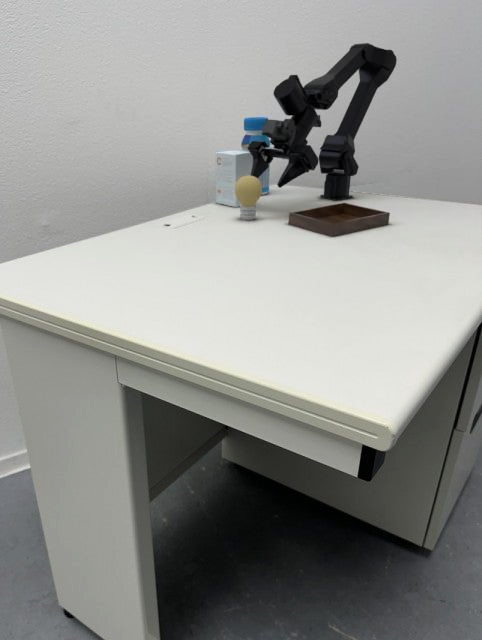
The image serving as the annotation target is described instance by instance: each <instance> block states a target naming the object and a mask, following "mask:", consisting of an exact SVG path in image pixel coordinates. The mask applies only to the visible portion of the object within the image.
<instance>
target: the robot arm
mask: <svg viewBox="0 0 482 640" xmlns="http://www.w3.org/2000/svg"><path fill="white" fill-rule="evenodd" d="M396 65H397V56H396V54H395V51H393V50H392V49H384V48H381V47H379V46H375V45H374V44H371V43H369V42H363V43H354V44H353V45H351V46H350V47H349V50H348V51H347V52H346V53H345V54H344V55H343V56H342V57H341V58H340V59H339V60H338V61H337V62H336V63H335V64H334V65H333V66H332V67H331V68H330V69H329V70H328V71H327V72H326V73H325V74H323V75H321V76H319V77H316V78H314V79H312V80H311V81H309V82H308V83H306V84H305V85H304V86H303V84H302V83H301V79H300V77H299V76H298V74H290V75H289V76H288V78H286V79H285V80H283V81H281V82H280V83H279V84H277V85H276V86H275V87H274V89H273V96H274V99H275V100H276V102H277V103H278V105H279V106H280V108H281V110H282V111H283V113H284V114H285V115H286V116H287V117H288V116H291V117H290V118H284V120H278V119H268V120H265V123H264V126H263V130H262V133H261V134H262V135H266V136H267V137H268V138H269V140H270V145H272V146H273V147H269V146H268V145H267V144H266V142H265V141H251V143H250V145H249V146H248V150H249V151H250V154H251V155H252V156H253V166H252V171H251V175H250V176H254V177H256V178H257V179H258V178H259V177H260V176H261V175H262V174H263V172H264V171H265V170H266V169H267V168H268V167H269V165H268V164H269V163H270V164H271V163H272V162H273V160H274V158H276V159H282V160H286V161H287V160H288V163H287V165H286V167H285V168H284V171H283V172H282V174H281V175H280V177H279V179H278V182H277V185H276V186H277V187H278V188H283V187H284V186H285V185H287V184H289V183H290V182H292V181H294V180H295V179H296V178H298V177H300V176H302V175H305V174H306V173H309V172H310V171H315V169H316V168H317V166H318V165H319V170H320V174H323V175H325V180H324V184H323V186H324V187H323V194H320V198H323V199H328V200H332V201H340V200H341V201H342V200H346V199H347V200H348V199H352V198H354V195H352V194H350V188H351V180H352V179H351V178H352V177H354V176H356V175H357V174H358V172H359V165H358V162H357V160H356V158H355V157H354V155H355V153H356V146H355V138H356V137H357V134H358V133H359V131H360V128H361V125H362V124H363V121H364V119H365V116H366V114H367V113H368V111H369V108H370V106H371V103H372V102H373V99H374V97H375V94H376V93H377V91H378V89H379V88H380V87H382V85H383V84H385V83H386V82H387V81H388V80H389V78H390V77H391V75H392V73H393V72H394V70H395V68H396ZM357 72H358V77H359V82H358V84H357V86H356V89H355V90H354V93H353V95H352V97H351V100H350V102H349V103H348V107H347V108H346V111H345V113H344V114H343V117H342V119H341V122H340V124H339V126H338V128H337V131H336V132H335V133H334V134H327V135H326V136H325V137H324V140H323V143H322V145H321V146H320V148H319V150H320V151H319V154H317V153H316V152H315V150H314V149H313V147H312V146H311V144H309V143H308V142H309V141H308V140H307V138H308V137H309V135H310V133H311V132H312V130H313V128H322V121H321V114H318V113H317V111H316V110H318V111H327V110H329V109H330V108H331V107H332V106H333V104H334V103H335V102H336V100H337V99H338V97H339V91H340V89H341V88H342V87H343V86H344V85H345V84H346V83H347V82H348V81H349V80H350V79H351V78H352V77H353V76H354V75H355V74H356V73H357Z"/></svg>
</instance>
